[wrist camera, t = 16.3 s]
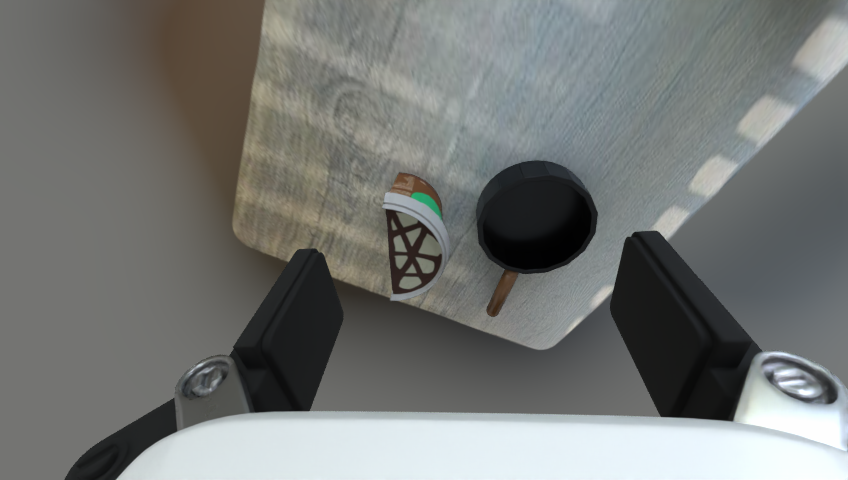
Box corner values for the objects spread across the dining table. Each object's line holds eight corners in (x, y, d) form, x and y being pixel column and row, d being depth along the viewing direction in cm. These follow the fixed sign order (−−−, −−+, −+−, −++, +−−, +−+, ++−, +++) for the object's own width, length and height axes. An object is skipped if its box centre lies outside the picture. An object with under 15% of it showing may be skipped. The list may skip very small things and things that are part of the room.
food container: (450, 252, 46) (447, 307, 37) (402, 250, 46) (390, 304, 38) (453, 161, 39) (452, 204, 30) (398, 160, 39) (381, 202, 31)
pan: (497, 148, 37) (500, 162, 34) (606, 176, 38) (620, 193, 35) (446, 287, 49) (445, 308, 46) (531, 307, 50) (536, 329, 46)
